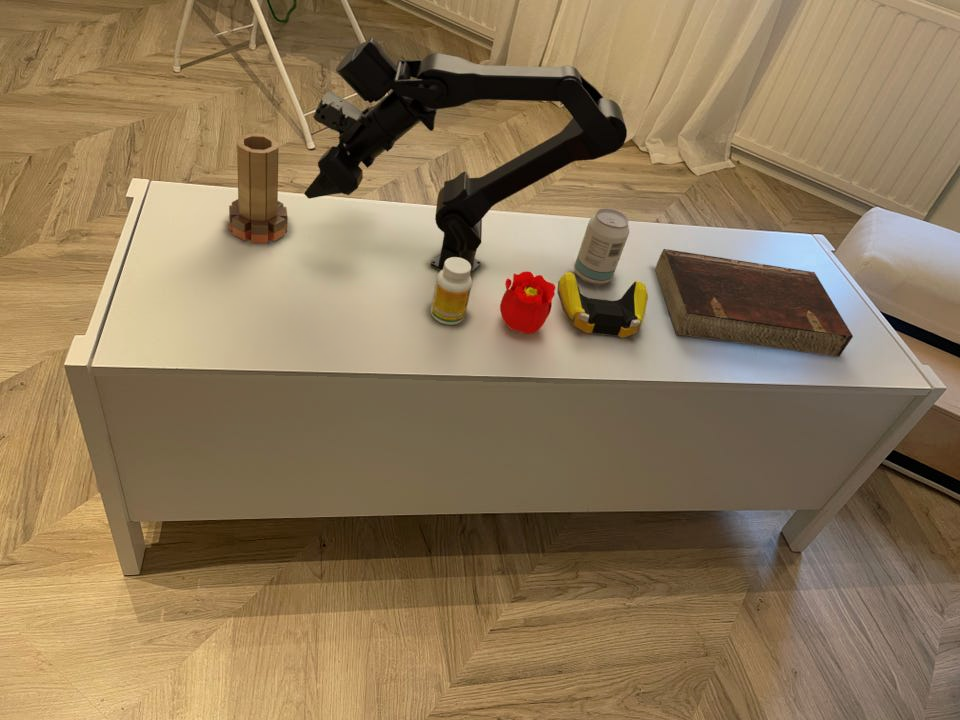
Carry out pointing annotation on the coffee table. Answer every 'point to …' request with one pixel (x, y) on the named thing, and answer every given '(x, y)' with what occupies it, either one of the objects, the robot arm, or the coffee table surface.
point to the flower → (527, 302)
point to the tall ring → (257, 176)
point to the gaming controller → (603, 309)
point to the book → (750, 303)
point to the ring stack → (258, 225)
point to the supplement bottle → (452, 291)
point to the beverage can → (602, 246)
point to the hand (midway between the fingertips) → (314, 183)
